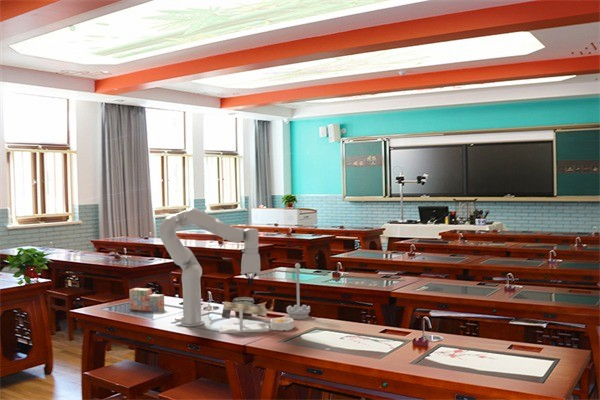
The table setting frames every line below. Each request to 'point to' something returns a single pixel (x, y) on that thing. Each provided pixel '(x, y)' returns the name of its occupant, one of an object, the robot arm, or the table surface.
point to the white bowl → (282, 324)
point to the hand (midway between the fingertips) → (250, 285)
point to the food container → (243, 301)
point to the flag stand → (298, 303)
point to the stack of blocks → (145, 300)
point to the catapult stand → (243, 326)
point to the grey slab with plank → (246, 309)
